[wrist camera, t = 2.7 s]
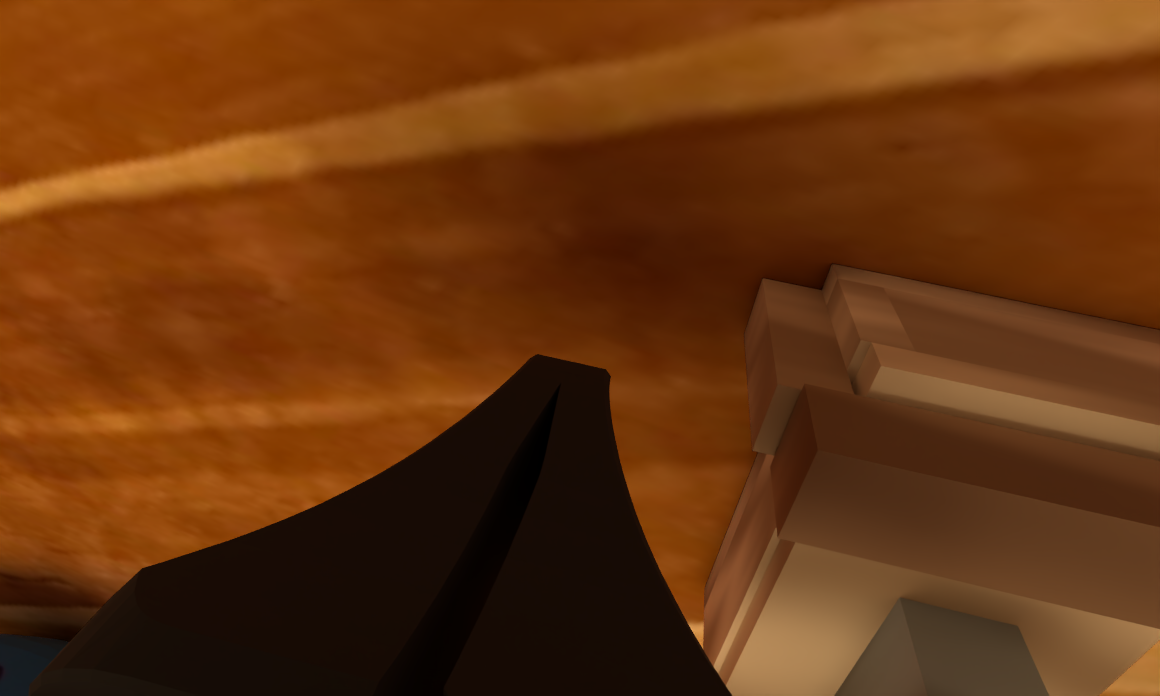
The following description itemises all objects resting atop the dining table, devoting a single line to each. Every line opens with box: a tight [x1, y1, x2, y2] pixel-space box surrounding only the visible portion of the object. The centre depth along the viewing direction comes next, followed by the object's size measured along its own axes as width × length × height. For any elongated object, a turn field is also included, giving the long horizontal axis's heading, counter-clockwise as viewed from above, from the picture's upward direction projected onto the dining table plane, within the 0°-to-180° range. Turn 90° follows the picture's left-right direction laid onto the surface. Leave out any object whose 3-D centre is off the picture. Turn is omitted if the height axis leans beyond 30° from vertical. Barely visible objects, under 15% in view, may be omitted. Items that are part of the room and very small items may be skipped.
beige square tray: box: [703, 264, 1160, 673], centre depth 16 cm, size 12×11×4 cm
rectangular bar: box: [770, 383, 1160, 629], centre depth 11 cm, size 2×10×2 cm, turn 82°
